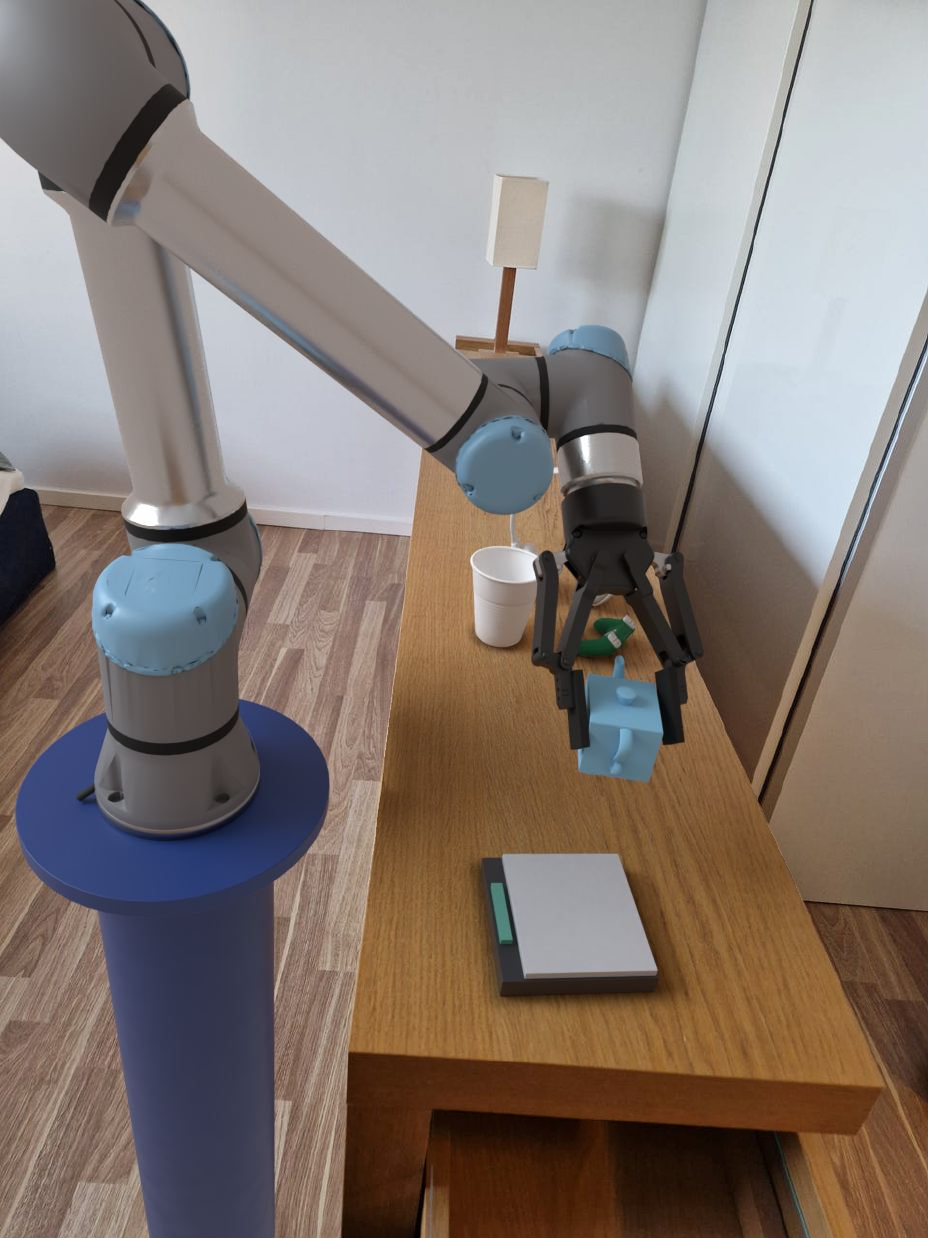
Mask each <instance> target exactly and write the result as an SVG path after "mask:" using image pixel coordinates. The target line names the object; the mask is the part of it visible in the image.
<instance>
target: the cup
mask: <svg viewBox="0 0 928 1238" xmlns="http://www.w3.org/2000/svg"><path fill="white" fill-rule="evenodd" d="M537 557H538V556H537V555H535V554H533V553H531V552H529V551H526V550H523V549H520V548H515V547H511V546H508V545H493V546H491V545H490V546H486V547H482V548H479V549H478V550H476V551H474V553H473V554H472V555H471V557H470V565H471V567H472V569H471V570H472V584H473V585H472V589H473V605H474V606H473V608H474V611H473V612H474V631H475V632H474V633H475V635H476V636H477V638H478V639H479V640H480V641H481V642H482V643H484V644H486V645H488V646H492V647H495V648H509V647H512V646H514V645H516V644H518V643H519V642H520V641H521V640H522V637H523V635H524V632H525V629H526V626H527V623H528V621H529V617H530V615H531V613H532V610H533V608H534V605H535V603H536V594H537V580H536V576H535V573H534V569H533V561H534V560H535V559H536V558H537Z"/></svg>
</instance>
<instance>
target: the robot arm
mask: <svg viewBox="0 0 928 1238" xmlns="http://www.w3.org/2000/svg"><path fill="white" fill-rule="evenodd" d="M189 74H190V73H189V70H188V67H187V62H186V60H185V56H184V55H183V52H182V50H181V47H180V46H179V44H178V42H177V40H176V38H175V37H174V35H173V33H172V32H171V30H170V29H169V27H168V26H167V25H166V24H165V23H164V22H163V20H162V19H161V18H160V17H159V16H158V14H156V12H154V10H152V9H151V8H150V7H149V6H148V5H147V4H146V3H145V2H144V1H143V0H0V140H2V141H3V142H4V143H5V144H6V145H7V147H9V148H10V149H11V150H12V151H13V152H15V154H16V155H18V156H19V157H20V158H21V159H22V160H24V161H25V162H26V163H27V164H29V166H30V167H32V168H33V169H34V170H36V171H37V174H38V179H39V182H40V187H41V190H42V192H43V194H44V195H45V196H46V197H48V198H49V199H50V200H52V201H53V202H54V203H56V204H57V205H58V206H59V207H61V208H62V209H63V210H64V211H65V212H66V213H67V215H68V216H69V219H70V224H71V228H72V233H73V236H74V242H75V246H76V249H77V253H78V259H79V263H80V267H81V272H82V275H83V279H84V284H85V288H86V293H87V297H88V302H89V305H90V310H91V313H92V318H93V322H94V327H95V331H96V335H97V340H98V344H99V347H100V352H101V356H102V357H101V358H102V360H103V365H104V369H105V374H106V378H107V382H108V386H109V390H110V395H111V399H112V404H113V407H114V412H115V416H116V420H117V425H118V429H119V433H120V437H121V442H122V446H123V450H124V455H125V459H126V463H127V467H128V473H129V476H130V481H131V485H132V491H131V492H130V493H129V495H128V496H127V497H126V498H125V499H124V501H123V502H122V504H121V508H120V512H121V516H122V520H123V524H124V528H125V532H126V537H127V541H128V544H129V545H128V546H129V549H130V553H131V555H124V554H123V555H121V556H119V557H117V558H116V559H114V560H113V561H112V562H110V563H109V564H108V565H107V566H106V567H105V568H104V569H103V571H102V572H101V573H100V575H99V576H98V578H97V579H96V582H95V584H94V588H93V591H92V607H91V621H92V622H91V623H92V624H91V629H92V631H93V637H94V639H95V644H96V651H97V658H98V664H99V672H100V680H101V681H100V682H101V687H102V695H103V701H104V710H105V712H106V717H107V725H108V729H107V732H106V736H105V739H104V742H103V746H102V749H101V752H100V756H99V759H98V763H97V766H96V770H95V778H94V783H93V784H92V785H90V786H89V787H88V788H86V789H85V790H83V791H82V792H80V793H79V794H77V795H76V798H77V799H78V800H79V801H82V800H84V799H85V798H87V797H88V796H90V795H91V794H92V793H94V792H95V797H96V803H97V806H98V809H99V811H100V813H101V814H102V815H103V817H104V818H105V819H106V820H107V821H108V822H109V823H110V824H111V825H113V826H114V827H115V828H117V829H119V830H120V831H122V832H124V833H127V834H129V835H132V836H135V837H139V838H143V839H149V840H159V841H172V840H183V839H189V838H194V837H198V836H202V835H205V834H208V833H211V832H213V831H216V830H218V829H220V828H222V827H224V826H226V825H227V824H229V823H231V822H232V821H234V820H235V819H236V818H238V817H239V816H240V815H241V814H242V813H243V812H244V811H245V810H247V808H248V807H249V806H250V805H251V803H252V802H253V800H254V799H255V797H256V795H257V792H258V789H259V785H260V764H259V759H258V755H257V750H256V749H255V747H254V746H255V745H254V743H253V742H252V741H253V740H251V739H252V737H251V738H250V736H251V735H250V736H249V734H250V732H249V734H248V732H247V729H246V727H245V725H244V723H243V721H242V719H241V717H240V714H239V699H240V688H239V652H240V645H241V640H242V637H243V632H244V627H245V624H246V620H247V616H248V613H249V610H250V607H251V606H250V605H251V601H252V598H253V594H254V591H255V587H256V584H257V582H258V580H259V577H260V575H261V571H262V569H261V567H262V566H263V557H264V555H263V553H264V551H263V543H262V537H261V533H260V530H259V527H258V525H257V522H256V520H255V519H254V517H253V516H252V515H251V513H250V512H249V509H248V504H247V498H246V494H245V490H244V488H243V486H241V485H240V484H239V483H237V482H236V481H234V480H232V479H231V478H229V477H228V476H227V475H226V474H227V473H226V471H225V470H226V469H225V463H224V457H223V451H222V445H221V440H220V435H219V434H220V433H219V428H218V423H217V417H216V411H215V405H214V399H213V394H212V386H211V382H210V376H209V370H208V365H207V359H206V353H205V347H204V342H203V341H204V340H203V336H202V335H203V334H202V330H201V324H200V317H199V313H198V312H199V311H198V306H197V300H196V294H195V289H194V284H193V277H192V271H194V273H196V274H197V275H198V276H200V277H201V278H202V279H203V280H205V281H206V282H207V283H209V284H210V285H211V286H212V287H214V288H215V289H216V290H218V291H219V292H220V293H222V294H223V295H224V296H226V297H227V298H228V299H230V300H231V301H232V302H233V303H235V304H236V305H237V306H238V307H240V308H241V309H243V310H244V311H245V312H246V313H247V314H249V315H250V316H251V317H253V318H254V319H255V320H257V321H258V322H259V323H260V324H261V325H263V326H264V327H266V328H267V329H268V330H269V331H270V332H272V333H273V334H274V335H276V336H277V337H279V338H280V339H281V340H282V341H284V342H285V343H286V344H288V345H289V346H290V347H292V348H293V349H294V350H295V351H297V352H298V353H299V354H300V355H302V357H304V358H305V359H307V360H308V361H309V362H311V363H312V364H313V365H315V366H316V367H318V368H319V369H320V370H321V371H322V372H324V373H325V374H326V375H328V377H330V378H331V379H333V380H334V381H335V382H337V383H338V384H339V385H340V386H342V387H343V388H344V389H346V390H347V391H348V392H350V393H351V394H352V395H353V396H355V397H356V398H357V399H359V401H360V402H362V403H364V405H366V406H367V407H369V409H372V410H373V411H374V412H375V413H377V414H378V415H379V416H380V417H382V418H383V419H384V420H386V421H387V422H388V423H390V424H391V425H392V426H393V427H395V428H396V429H397V430H398V431H400V432H401V433H403V434H404V435H405V436H406V437H408V438H409V439H410V440H412V441H413V442H414V443H415V444H417V445H418V446H419V447H420V448H422V449H423V450H424V451H425V452H427V453H428V454H429V455H430V456H432V457H433V458H434V459H435V460H436V461H438V462H439V463H440V464H442V465H443V466H444V467H446V468H447V469H448V470H449V471H450V472H452V474H454V476H455V480H456V483H457V485H458V486H459V487H460V489H461V491H462V492H463V494H464V495H465V497H466V499H467V500H468V501H469V503H471V504H472V505H473V506H475V508H477V509H479V510H481V511H483V512H485V513H487V514H491V515H495V516H497V515H498V516H510V515H511V514H516V515H517V514H519V513H522V512H524V511H527V510H528V509H531V507H533V506H535V505H536V504H537V503H538V502H539V501H540V500H542V498H543V496H544V495H545V494H546V492H547V491H548V489H549V488H550V485H551V483H552V480H553V476H554V474H553V472H554V468H555V463H554V456H553V452H552V442H551V439H554V443H555V450H556V451H555V453H556V461H557V462H556V463H557V467H558V473H557V474H558V483H559V494H560V495H561V496H562V497H563V499H562V500H561V502H560V505H561V506H560V507H561V518H562V528H563V530H562V531H563V537H564V546H563V549H562V550H560V551H555V552H553V551H551V550H549V549H548V550H547V549H545V550H543V551H542V552H541V553H539V556H538V557H537V558H536V559H535V560H534V561H533V569H534V573H535V576H536V580H537V594H536V599H535V607H534V608H535V609H534V617H533V618H534V619H533V631H532V644H531V655H530V661H531V664H532V665H533V666H534V667H536V668H540V667H541V668H544V669H546V670H548V671H549V673H550V674H551V675H553V678H554V679H553V680H554V690H555V691H554V692H555V704H556V706H557V709H558V710H559V711H566V715H567V727H568V737H569V750H570V751H573V750H575V751H576V750H577V751H578V749H583V748H587V747H590V739H589V728H588V717H587V706H586V695H585V684H586V683H585V675H584V669H573V667H574V665H575V663H576V659H577V657H578V655H577V653H578V650H579V647H580V643H581V641H583V637H584V634H585V632H586V631H585V630H586V628H587V624H588V621H589V619H590V614H591V611H592V610H593V609H592V608H593V607H594V606H593V602H594V600H595V598H596V597H597V596H601V595H604V594H611V595H613V596H615V597H623V599H624V601H625V604H626V605H628V606H629V607H631V610H632V611H633V613H634V615H635V617H636V619H637V621H638V623H639V625H640V626H641V629H642V630H643V632H644V634H645V636H646V639H647V640H648V642H649V644H650V646H651V648H652V650H653V652H654V653H655V655H656V657H657V660H658V661H659V663H660V666H661V667H662V668H661V669H660V670H657V671H654V679H655V687H656V692H657V698H658V703H659V709H660V715H661V722H662V728H663V737H662V740H661V744H662V746H672V745H679V744H682V743H685V742H686V740H685V739H686V738H685V733H684V732H685V730H684V722H683V715H682V706H683V705H687V703H688V700H689V693H688V687H687V686H688V685H687V676H686V667H687V665H689V664H690V663H694V662H695V661H697V660H699V659H702V658H703V657H704V655H705V649H704V647H703V643H702V639H701V637H700V636H701V635H700V631H699V629H698V624H697V621H696V618H695V614H694V610H693V607H692V603H691V599H690V595H689V592H688V589H687V586H686V581H685V579H684V568H685V567H684V566H685V556H684V555H683V553H682V552H680V551H674V552H672V553H670V554H668V553H665V552H664V553H663V552H658V551H655V550H654V547H653V546H652V544H651V543H650V541H649V537H648V536H649V535H648V533H649V532H648V530H649V529H648V528H649V524H648V513H647V506H646V505H647V504H646V497H645V496H646V495H645V493H644V491H643V490H642V489H641V488H642V486H643V485H644V480H643V469H642V463H641V455H640V446H639V442H638V441H639V440H638V435H637V424H636V411H635V402H634V390H633V382H634V381H633V379H634V377H633V373H632V371H631V366H630V365H631V364H630V359H629V355H628V350H627V346H626V343H625V340H624V338H623V337H622V336H621V334H620V333H618V332H617V331H616V330H614V329H612V328H610V327H608V326H604V325H599V324H584V325H580V326H579V327H578V328H575V329H571V328H570V329H569V328H568V329H566V330H563V331H561V332H560V333H558V334H557V335H556V336H554V338H552V340H551V341H550V342H549V345H548V347H547V353H546V355H544V354H543V355H541V356H523V357H490V358H489V357H485V358H484V357H483V358H481V357H480V358H467V357H466V356H465V355H464V354H463V353H461V352H460V351H459V350H458V349H457V348H455V347H454V346H453V345H452V344H451V343H450V342H449V341H447V340H446V339H445V338H444V337H443V336H442V335H440V334H439V333H438V332H437V331H436V330H435V329H433V327H431V326H430V325H429V324H428V323H427V322H425V321H424V320H423V319H422V318H420V317H419V316H418V315H417V314H416V313H414V312H413V311H412V310H411V309H410V308H409V307H408V306H407V305H405V304H404V303H403V302H402V301H401V300H399V299H398V298H397V297H396V296H395V295H393V294H392V293H391V292H390V291H389V290H388V289H386V288H385V287H384V286H383V285H381V284H380V283H379V282H378V281H377V280H375V278H373V276H371V275H370V274H369V273H368V272H367V271H365V270H364V269H363V268H362V267H361V266H360V265H359V264H357V263H356V262H355V261H353V259H351V257H349V256H348V255H347V254H345V253H344V251H342V250H341V249H339V248H338V247H337V246H336V245H335V244H334V243H332V241H330V240H329V239H328V238H327V237H326V236H325V235H323V234H322V233H321V232H320V231H319V230H317V228H315V227H314V226H313V225H312V224H311V223H309V222H308V221H307V220H306V219H304V217H302V216H301V215H300V214H299V213H298V212H296V210H294V209H292V207H290V206H289V205H288V204H287V203H286V202H285V201H283V200H282V199H281V198H280V197H279V196H278V195H276V194H275V193H274V192H273V191H272V190H271V189H269V188H268V187H267V186H266V185H265V184H263V183H262V182H261V181H260V179H258V178H256V177H255V176H254V175H253V174H252V173H250V171H248V170H247V169H246V168H245V167H244V166H242V165H241V164H240V163H239V162H238V161H237V160H235V159H234V158H233V157H232V156H231V155H229V154H228V153H227V152H226V151H225V150H224V149H222V148H221V147H220V146H219V145H218V144H217V143H215V142H214V141H213V140H212V139H211V138H209V136H207V135H206V134H205V133H204V132H203V131H201V128H200V125H199V123H198V119H197V113H196V109H195V105H194V103H193V102H192V101H191V90H192V89H191V88H192V87H191V81H190V75H189ZM191 270H192V271H191ZM563 566H565V568H566V569H567V570H568V571H569V573H570V574H571V575H572V577H573V578H574V579H575V580H576V584H575V587H574V590H573V593H572V596H571V603H570V607H569V610H568V613H567V616H566V620H565V623H564V626H563V628H562V631H561V635H560V638H559V640H558V643H557V647H556V650H555V641H556V640H555V639H556V627H557V615H558V614H557V613H558V612H557V611H558V602H559V601H558V600H559V599H558V598H559V587H560V575H561V574H562V573H563V569H564V567H563ZM650 567H652V568H653V569H654V570H653V571H654V576H655V577H656V578H658V582H659V589H660V590H659V591H660V593H661V598H662V600H663V605H664V608H665V611H666V614H667V618H666V617H665V614H664V613H663V610H662V609H661V606H660V605H659V603H658V601H657V599H656V597H655V594H654V587H653V585H652V583H651V582H650V580H649V578H648V576H647V573H648V570H649V569H650ZM246 726H247V725H246ZM248 731H249V730H248Z"/></svg>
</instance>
